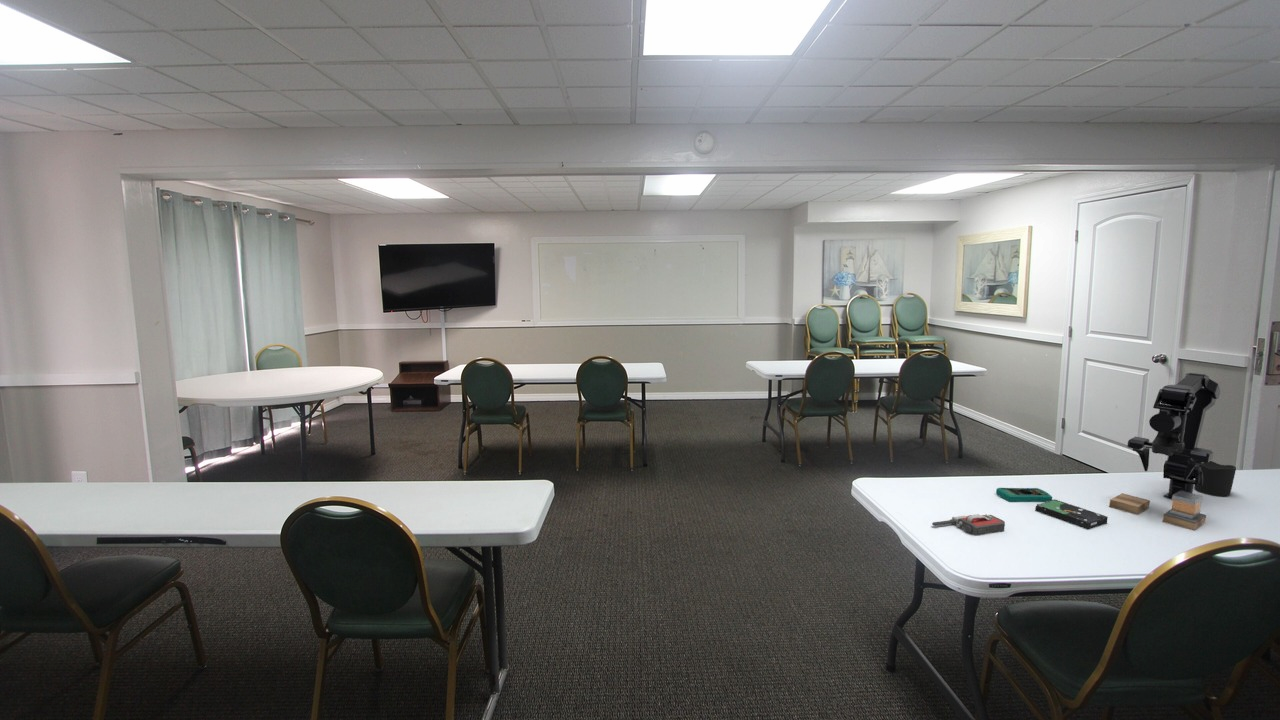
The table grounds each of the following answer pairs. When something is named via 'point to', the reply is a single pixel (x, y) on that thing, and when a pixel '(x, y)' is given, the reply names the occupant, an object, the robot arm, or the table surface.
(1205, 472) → the pen holder
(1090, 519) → the disk drive
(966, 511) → the table surface
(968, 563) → the table surface
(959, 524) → the walkie-talkie
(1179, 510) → the block
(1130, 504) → the stand
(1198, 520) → the stand
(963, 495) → the table surface
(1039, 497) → the digital multimeter
